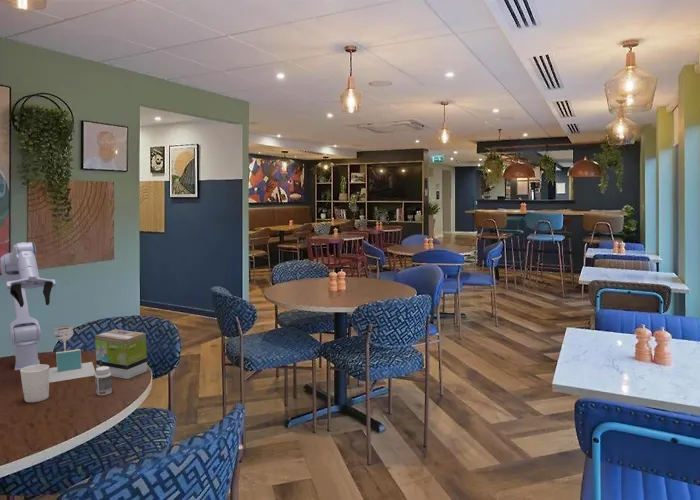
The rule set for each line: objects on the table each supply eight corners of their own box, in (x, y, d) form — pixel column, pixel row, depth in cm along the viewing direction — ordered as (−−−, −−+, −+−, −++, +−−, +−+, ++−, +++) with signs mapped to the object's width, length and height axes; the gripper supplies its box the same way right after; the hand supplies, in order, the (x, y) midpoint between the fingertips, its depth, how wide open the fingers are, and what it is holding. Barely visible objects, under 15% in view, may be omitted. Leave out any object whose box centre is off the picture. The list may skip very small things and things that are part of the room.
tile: (57, 371, 195) (55, 352, 195) (81, 367, 199) (80, 349, 199) (57, 372, 194) (56, 353, 193) (81, 368, 198) (80, 350, 197)
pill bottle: (115, 391, 175) (114, 366, 174) (104, 396, 171) (103, 371, 170) (104, 389, 177) (102, 365, 176) (92, 394, 172) (91, 369, 171)
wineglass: (69, 359, 210) (67, 329, 209) (52, 359, 210) (50, 329, 209) (78, 354, 217) (76, 325, 216) (61, 354, 217) (59, 325, 216)
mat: (44, 369, 198) (44, 368, 198) (92, 362, 206) (91, 361, 206) (45, 384, 182) (45, 383, 182) (96, 375, 191) (96, 375, 191)
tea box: (95, 374, 192) (93, 334, 190) (117, 366, 201) (115, 328, 200) (127, 380, 186) (125, 338, 185) (148, 371, 195) (146, 331, 194)
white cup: (56, 396, 171) (54, 366, 170) (33, 405, 164) (30, 373, 163) (40, 392, 174) (38, 363, 173) (16, 401, 167) (14, 370, 166)
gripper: (6, 265, 177) (12, 299, 171) (54, 264, 187) (61, 296, 181) (2, 277, 181) (8, 311, 175) (50, 275, 191) (57, 307, 185)
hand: (35, 304), depth 178 cm, fingers open, 7 cm apart
